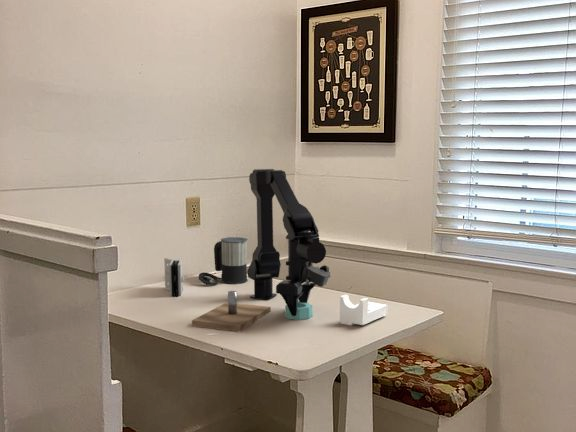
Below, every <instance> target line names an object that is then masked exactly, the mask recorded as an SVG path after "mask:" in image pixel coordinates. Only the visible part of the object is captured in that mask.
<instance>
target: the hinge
mask: <svg viewBox="0 0 576 432" xmlns="http://www.w3.org/2000/svg"><path fill="white" fill-rule="evenodd" d="M183 271H184V269H183V260H182V259H181V258H168V257H164V288H165V289H168V290H169V297H171V298H175V296H176V298H178V297H182V295H183V290H184V272H183Z"/></svg>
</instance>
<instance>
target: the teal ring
mask: <svg viewBox="0 0 576 432" xmlns="http://www.w3.org/2000/svg"><path fill="white" fill-rule="evenodd" d="M284 306H285V308H284V309H285V310H284V311H285V314H284V315H285V317H286V318H287V319H289V320H297V321H302V320H308V319H311V318H312V317H313V305H312V304H310V302H307V303H303V302H299V301H298V306H297V313H296V316H292V315H291V313H290V310H289V308H288V306H287V304H285V305H284Z"/></svg>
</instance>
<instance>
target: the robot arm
mask: <svg viewBox="0 0 576 432" xmlns="http://www.w3.org/2000/svg"><path fill="white" fill-rule="evenodd" d="M248 181H249V184H250V190H251V192H252V194H253V195H254V197H255V198H256V227H257V229H256V231H257V236H256V237H257V245H256V247H255V249H254V251H253V253H252V255H251V256H252V260H251V262H250V264H249V266H248V268H247V279H250V280H252V281H253V294H252V295H250V296H249V298H250V299H256V300H257V299H258V300H271V299H272V298H275V297H277V295H278V294H279V295H281V297H282V299H283V301H284V302H285V305H287V306H288V308H289V310H290V313H291V315H292V316H296V313H297V306H298V302H303V303H309V297H310V294H311V290H313V289H314V288H315V287H316V286H317V287H324V286H325V285H327V283H328V280H329V278H331V272H330V266H328V265H325V264H323V265H322V266H320V267H319V266H314V264H315V265H316V264H319V263H320V264H321V262H322V261H324V259H325V257H326V254H327V250H326V247H325V245H324V244H323V243H322V242H320V234H319V228H318V227H317V225H316V222H315V220H314V217H313V215H312V214H311V212H310V211H309V209H308V208H307V207H306V206H305V205H303V204H301V203H300V202H299V200H298V198H297V197H296V194H295V192H294V191H293V189H292V187H291V185H290V183H289V181H288V179H287V173H286V171H285V170H282V169H277V170H275V169H273V168H260V169H259V168H258V169H253V170H252V172H251V173H250V174H249V178H248ZM274 196H275V198H276V199H277V201H278V204H279V206H280V208H281V210H282V213H283V216H282V222H283V228H284V229H285V231H286V236H285V239H286V240H287V241H288V243H287V244H288V247H287V248H288V253H287V254H288V257H287V258H288V259H287V260H286V261H285V266H287V267H288V271H287V272H288V275H286V276H285V280H282V281H280V282H278V283H277V284H276V286H275V292H274V291H273V290H274V289H273V286H274V285H273V284H274V283H273V279H276V278H279V276H280V272H281V271H280V270H281V265H282V264H281V261H280V258H281V257H280V256H281V255H280V251H277V249H276V248H275V246H274V218H273V217H274V216H273V214H274V213H273V208H274V207H273V198H274Z"/></svg>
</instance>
